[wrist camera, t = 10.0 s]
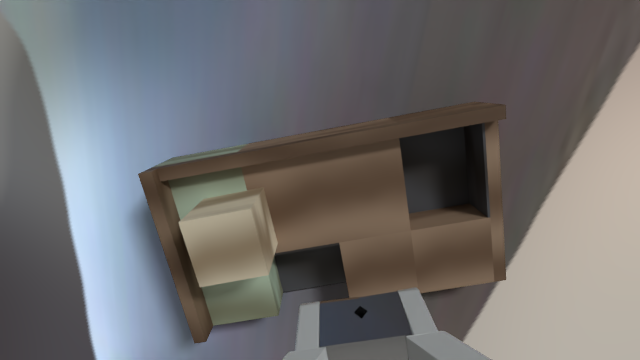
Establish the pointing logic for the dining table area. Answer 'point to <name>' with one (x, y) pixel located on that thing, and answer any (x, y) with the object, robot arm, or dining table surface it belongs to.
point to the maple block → (230, 237)
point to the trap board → (347, 210)
